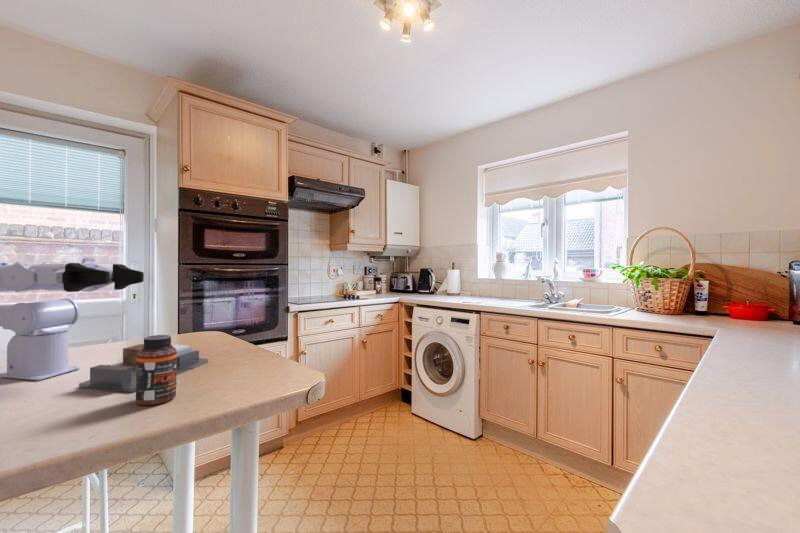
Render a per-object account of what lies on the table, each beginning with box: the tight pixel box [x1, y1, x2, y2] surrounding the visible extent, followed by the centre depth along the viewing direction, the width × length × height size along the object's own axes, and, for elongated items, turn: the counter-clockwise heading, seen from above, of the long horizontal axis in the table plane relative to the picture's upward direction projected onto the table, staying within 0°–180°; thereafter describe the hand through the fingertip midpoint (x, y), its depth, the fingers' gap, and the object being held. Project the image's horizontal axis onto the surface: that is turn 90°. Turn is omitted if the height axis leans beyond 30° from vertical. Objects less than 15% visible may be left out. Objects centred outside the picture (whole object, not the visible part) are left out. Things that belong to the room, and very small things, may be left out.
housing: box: [122, 343, 144, 367], centre depth 84 cm, size 4×6×4 cm
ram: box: [171, 344, 193, 357], centre depth 82 cm, size 5×5×3 cm
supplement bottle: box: [135, 334, 178, 406], centre depth 62 cm, size 6×6×11 cm
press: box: [78, 350, 209, 393], centre depth 76 cm, size 12×20×4 cm, turn 171°
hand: (126, 277), depth 71 cm, fingers open, 7 cm apart
